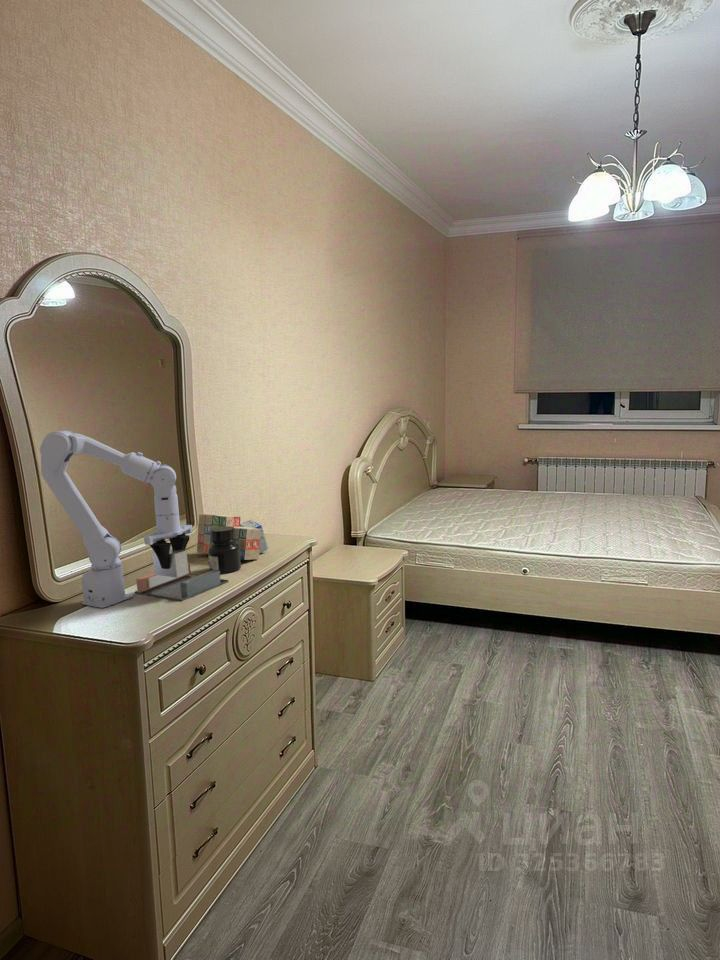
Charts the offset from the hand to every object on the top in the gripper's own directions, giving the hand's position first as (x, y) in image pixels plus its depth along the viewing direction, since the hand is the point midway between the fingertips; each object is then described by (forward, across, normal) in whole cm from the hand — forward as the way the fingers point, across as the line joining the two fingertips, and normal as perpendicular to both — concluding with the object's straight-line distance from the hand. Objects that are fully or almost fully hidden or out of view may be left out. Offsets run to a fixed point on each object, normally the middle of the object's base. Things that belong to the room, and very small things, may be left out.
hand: (172, 566), depth 170 cm
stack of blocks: (+7, +33, +11) cm, 35 cm away
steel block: (+2, 0, 0) cm, 2 cm away
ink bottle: (+7, +22, +3) cm, 24 cm away
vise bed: (+7, +4, +2) cm, 9 cm away
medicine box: (+6, +42, +7) cm, 43 cm away
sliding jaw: (+6, +5, +8) cm, 11 cm away
